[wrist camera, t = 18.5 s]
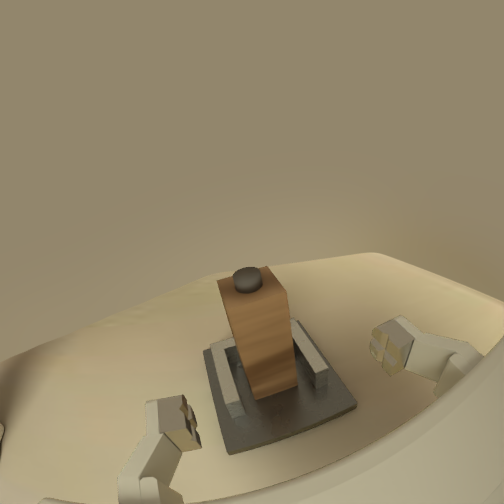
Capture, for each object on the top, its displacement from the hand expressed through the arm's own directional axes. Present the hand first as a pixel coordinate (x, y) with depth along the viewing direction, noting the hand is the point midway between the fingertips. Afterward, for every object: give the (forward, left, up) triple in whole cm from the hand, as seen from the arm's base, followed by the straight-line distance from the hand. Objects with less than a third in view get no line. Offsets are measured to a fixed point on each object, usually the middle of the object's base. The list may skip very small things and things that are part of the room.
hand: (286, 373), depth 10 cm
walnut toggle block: (-8, +11, -17) cm, 22 cm away
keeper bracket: (-8, +11, -18) cm, 23 cm away
